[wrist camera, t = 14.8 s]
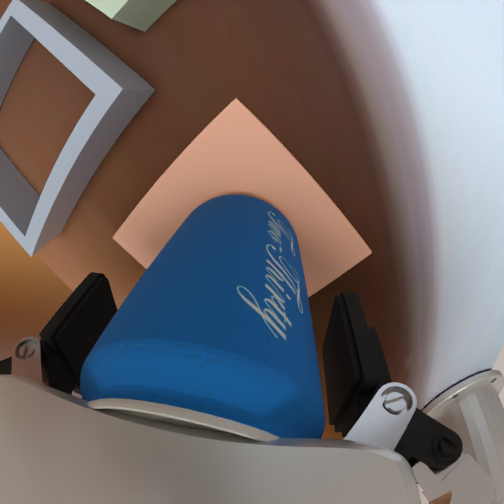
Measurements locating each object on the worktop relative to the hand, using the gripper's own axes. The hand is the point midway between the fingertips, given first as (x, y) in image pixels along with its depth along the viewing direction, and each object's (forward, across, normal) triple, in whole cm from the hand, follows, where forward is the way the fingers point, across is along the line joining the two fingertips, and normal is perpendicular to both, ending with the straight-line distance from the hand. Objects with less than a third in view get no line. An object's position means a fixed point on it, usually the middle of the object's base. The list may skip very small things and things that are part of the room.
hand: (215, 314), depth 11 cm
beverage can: (+6, 0, 0) cm, 6 cm away
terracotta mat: (+6, 0, 0) cm, 6 cm away
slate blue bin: (+6, +13, -8) cm, 17 cm away
